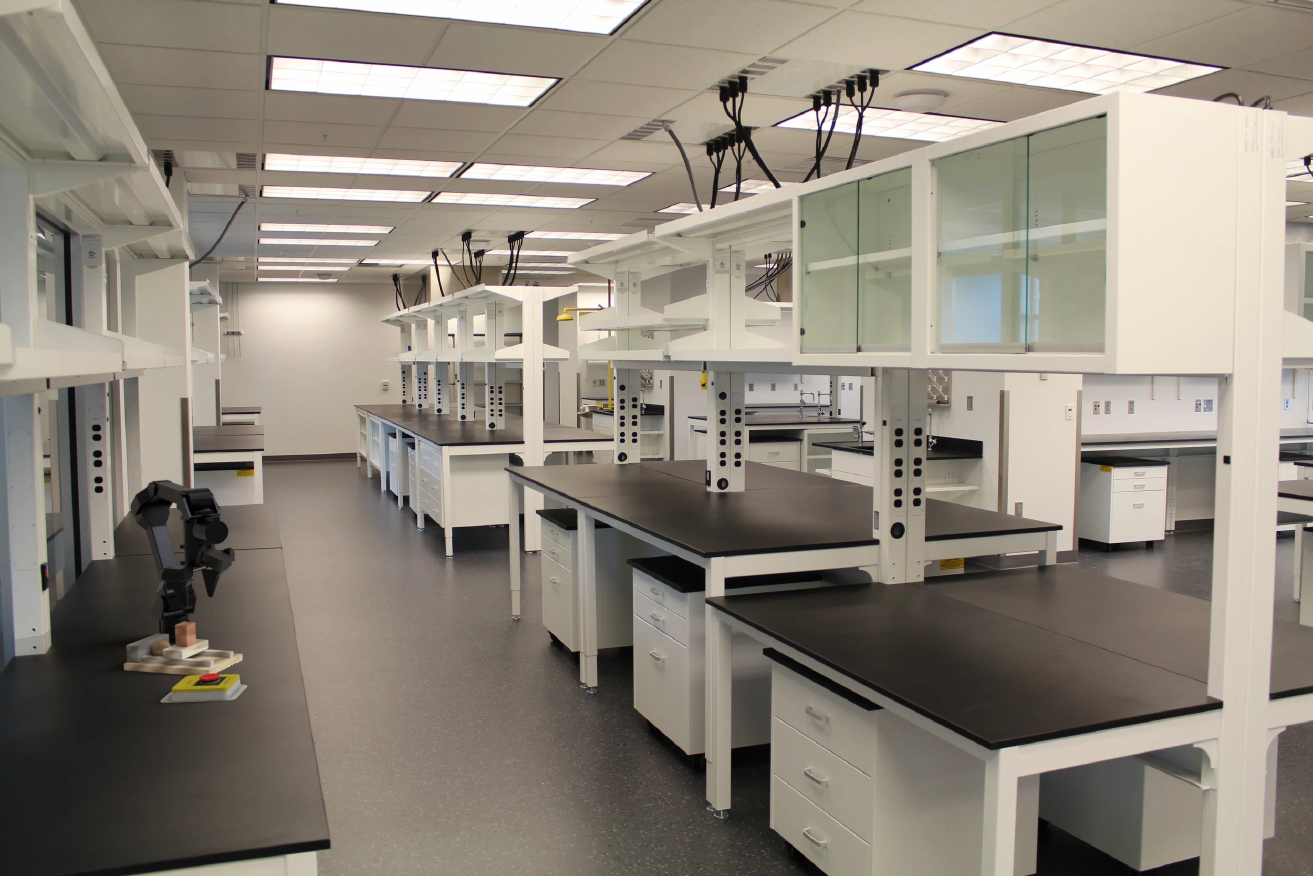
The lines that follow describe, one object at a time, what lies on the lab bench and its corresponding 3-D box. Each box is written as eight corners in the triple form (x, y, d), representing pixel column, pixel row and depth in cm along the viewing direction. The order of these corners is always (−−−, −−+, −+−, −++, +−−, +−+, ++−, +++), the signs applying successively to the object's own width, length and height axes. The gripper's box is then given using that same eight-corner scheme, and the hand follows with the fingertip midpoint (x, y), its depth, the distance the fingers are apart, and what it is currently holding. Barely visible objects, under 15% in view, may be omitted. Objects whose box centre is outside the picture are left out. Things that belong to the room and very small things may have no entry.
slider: (163, 658, 209) (162, 628, 209) (189, 646, 218) (189, 618, 218) (182, 659, 208) (181, 629, 208) (208, 648, 217) (207, 619, 217)
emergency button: (234, 682, 191) (158, 684, 189) (234, 702, 191) (158, 705, 189) (248, 668, 200) (176, 670, 198) (248, 687, 200) (176, 689, 198)
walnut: (148, 659, 213) (147, 642, 213) (160, 654, 217) (159, 637, 216) (163, 660, 212) (162, 643, 212) (175, 655, 216) (174, 638, 216)
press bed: (124, 670, 210) (123, 646, 209) (161, 654, 221) (160, 632, 221) (209, 676, 206) (208, 652, 205) (242, 660, 217) (242, 637, 217)
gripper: (199, 547, 213) (201, 613, 215) (249, 534, 232) (251, 594, 233) (158, 545, 215) (160, 610, 217) (210, 532, 234) (212, 592, 235)
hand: (198, 601), depth 225 cm, fingers open, 9 cm apart
